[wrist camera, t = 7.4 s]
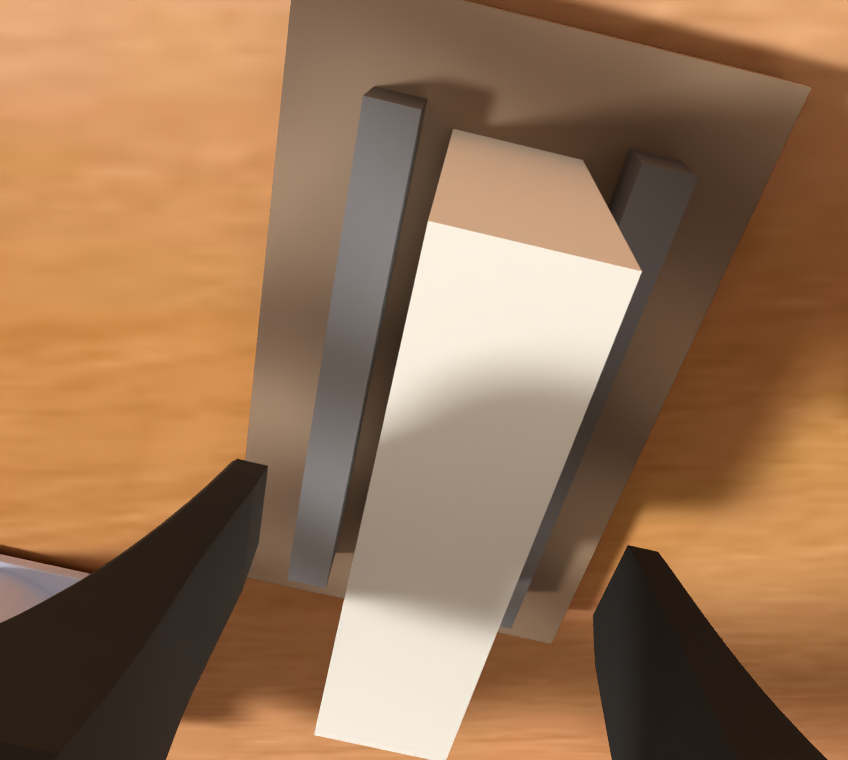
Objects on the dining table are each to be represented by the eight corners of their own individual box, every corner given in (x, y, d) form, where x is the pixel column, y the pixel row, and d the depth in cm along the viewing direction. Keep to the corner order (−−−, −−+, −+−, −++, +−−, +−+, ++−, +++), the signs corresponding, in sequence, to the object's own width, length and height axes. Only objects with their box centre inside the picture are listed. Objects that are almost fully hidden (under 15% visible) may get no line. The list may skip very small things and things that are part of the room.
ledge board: (547, 609, 25) (554, 682, 22) (247, 543, 24) (218, 610, 22) (785, 78, 16) (843, 97, 13) (311, -38, 15) (275, -44, 13)
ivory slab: (464, 545, 21) (453, 764, 15) (364, 523, 21) (314, 734, 15) (591, 161, 15) (656, 274, 9) (453, 128, 15) (428, 220, 9)
